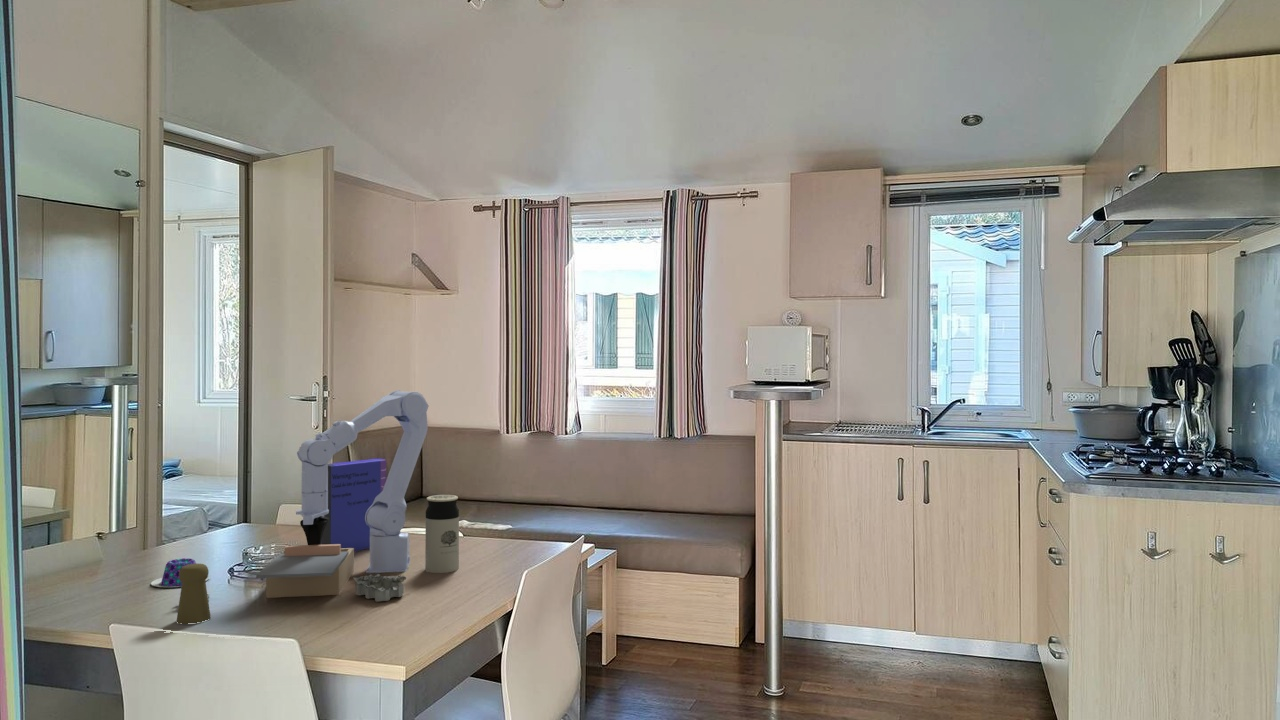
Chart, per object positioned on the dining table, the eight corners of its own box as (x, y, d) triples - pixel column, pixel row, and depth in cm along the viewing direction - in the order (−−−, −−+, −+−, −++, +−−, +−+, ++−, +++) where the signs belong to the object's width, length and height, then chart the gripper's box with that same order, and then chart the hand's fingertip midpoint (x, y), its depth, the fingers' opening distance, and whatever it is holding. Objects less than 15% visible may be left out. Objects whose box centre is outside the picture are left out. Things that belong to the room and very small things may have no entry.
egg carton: (408, 595, 185) (408, 576, 185) (378, 604, 179) (377, 585, 179) (381, 584, 192) (381, 566, 192) (351, 593, 186) (350, 574, 186)
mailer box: (353, 572, 207) (353, 548, 207) (338, 595, 187) (338, 568, 187) (288, 575, 204) (288, 550, 204) (266, 598, 185) (266, 570, 185)
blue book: (375, 543, 239) (375, 458, 239) (386, 546, 236) (386, 459, 236) (319, 555, 225) (320, 464, 225) (330, 557, 222) (331, 465, 222)
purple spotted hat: (142, 584, 197) (142, 561, 197) (196, 574, 206) (196, 552, 206) (163, 593, 189) (163, 569, 189) (218, 582, 198) (218, 560, 198)
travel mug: (422, 568, 211) (422, 495, 211) (454, 565, 215) (455, 493, 215) (428, 576, 204) (429, 500, 204) (462, 572, 207) (462, 498, 207)
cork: (184, 615, 172) (184, 561, 172) (215, 615, 172) (215, 560, 172) (170, 625, 166) (170, 568, 166) (203, 624, 166) (203, 568, 166)
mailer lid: (348, 553, 199) (348, 542, 199) (332, 575, 180) (332, 563, 180) (280, 556, 197) (280, 544, 197) (256, 578, 177) (256, 565, 177)
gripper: (303, 487, 204) (303, 544, 204) (288, 496, 190) (288, 557, 190) (334, 486, 206) (334, 543, 206) (322, 496, 191) (321, 556, 191)
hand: (314, 550), depth 198 cm, fingers closed
